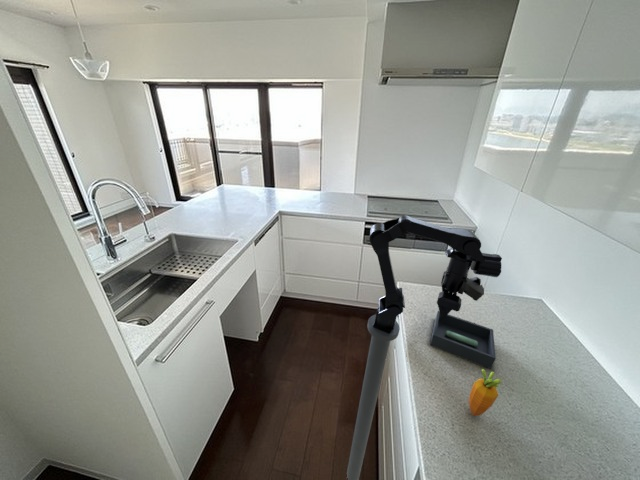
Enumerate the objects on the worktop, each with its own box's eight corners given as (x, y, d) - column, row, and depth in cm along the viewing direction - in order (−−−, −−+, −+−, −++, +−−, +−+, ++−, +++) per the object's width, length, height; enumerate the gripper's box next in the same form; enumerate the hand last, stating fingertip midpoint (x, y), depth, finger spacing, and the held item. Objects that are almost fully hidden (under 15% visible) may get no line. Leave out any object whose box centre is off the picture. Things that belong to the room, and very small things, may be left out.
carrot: (458, 405, 67) (475, 366, 61) (475, 404, 68) (495, 365, 61) (469, 425, 63) (490, 385, 56) (488, 424, 63) (510, 384, 57)
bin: (429, 345, 85) (433, 334, 83) (434, 320, 96) (437, 310, 94) (490, 369, 78) (495, 358, 76) (488, 339, 89) (493, 329, 87)
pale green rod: (444, 336, 88) (445, 331, 87) (444, 333, 90) (446, 328, 89) (477, 348, 84) (479, 343, 83) (476, 345, 85) (478, 340, 85)
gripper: (488, 295, 68) (470, 338, 75) (486, 265, 83) (470, 303, 90) (443, 281, 72) (430, 323, 79) (449, 255, 87) (437, 292, 94)
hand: (443, 309), depth 85 cm, fingers open, 9 cm apart
